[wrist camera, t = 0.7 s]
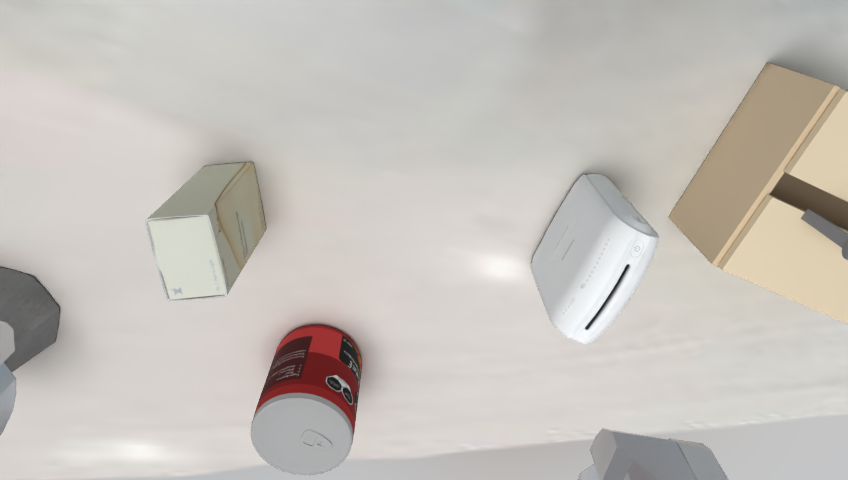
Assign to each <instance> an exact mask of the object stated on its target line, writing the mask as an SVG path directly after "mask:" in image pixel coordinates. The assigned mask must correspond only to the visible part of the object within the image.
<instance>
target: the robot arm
mask: <svg viewBox="0 0 848 480" xmlns="http://www.w3.org/2000/svg"><path fill="white" fill-rule="evenodd" d="M14 351H15V343H14V330H13V328H12V327H11V326H9V325H8V324H7V323H6V322H2V321H0V435H1V434H2V432H3V431H4V428H5V426H6V424H7V422H8V420H9V418H10V416H11V413H12V411H13V407H14V402H15V397H16V378H15V376H14V375H13V374H12V372H11V371H10V370H9V369H8V367H7V366H6V365H5V363H4V361H5V360H6V359H7V358H8V357H9V356H10V355H11V354H12V353H13V352H14ZM590 451H591V454H592V457H593V461H594V464H593V465H592V466H591V467H589V468H588V469H586V470H585V471H583V472H581V473H580V475H579V478H578V480H728V478H727V476H726V475H725V473H724V471H723V469H722V468H721V466H720V464H719V463H718V461H717V459H716V458H715V456H714V454H713V452H712V451H711V450H710V449H709V448H708V447H707V446H705V445H704V444H702V443H696V442H689V441H682V440H676V439H662V438H656V437H650V436H644V435H638V434H633V433H627V432H621V431H615V430H609V429H602V430H601V431H600V432H599V433H598V434H597V435H596V437H595V439H594V442H593V444H592V446H591V449H590Z"/></svg>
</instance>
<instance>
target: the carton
mask: <svg viewBox="0 0 848 480" xmlns="http://www.w3.org/2000/svg"><path fill="white" fill-rule="evenodd" d="M767 194H769V195H771V196H774V197H776V198H778V199H780V200H782V201H784V202H787V203H789V204H791V205H793V206H795V207H797V208H800V209H802V210H804V211H806V210H807V209H810V210H812V211H814V212H816V213H818V214H820V215H821V216H823V217H824V218H826V219H827V220H829V221H830V222H832V223H833V224H835V225H836V226H839V227H841V228H843V229H845V230H847V231H848V91H846V90H844V89H842V88H840V87H838V86H836V85H833V84H830V83H827V82H825V81H822V80H819V79H816V78H813V77H810V76H807V75H804V74H801V73H798V72H795V71H792V70H789V69H786V68H783V67H780V66H777V65H774V64H771V63H768V62H767V64H766V65H765V67H764V68H763V70H762V71H761V73H760V74H759V76H758V78H757V79H756V81H755V82H754V84H753V85H752V87H751V89H750V90H749V92H748V93H747V95H746V96H745V98H744V100H743V101H742V103H741V104H740V106H739V107H738V109H737V110H736V112H735V114H734V115H733V117H732V118H731V120H730V121H729V123H728V125H727V126H726V128H725V129H724V131H723V132H722V134H721V136H720V137H719V139H718V140H717V142H716V143H715V145H714V146H713V148H712V150H711V151H710V153H709V154H708V156H707V157H706V159H705V161H704V162H703V164H702V165H701V167H700V168H699V170H698V172H697V173H696V175H695V176H694V178H693V179H692V181H691V183H690V184H689V186H688V187H687V189H686V190H685V192H684V193H683V195H682V197H681V198H680V200H679V201H678V203H677V204H676V206H675V208H674V209H673V211H672V212H671V214H670V215H669V218H670V220H671V221H672V222H673V223H674V224H675V225H676V226H677V227H678V228H679V229H680V230H681V231H682V232H683V234H684V235H685V236H686V237H687V238H688V239H689V240H690V241H691V242H692V243H693V244H694V245H695V247H696V248H697V249H698V250H699V251H700V252H701V253H702V254H703V255H704V256H705V257H706V258H707V259H708V261H709V262H710V263H711V264H713V265H715V266H717V267H719V266H718V265H719V263H720V262H721V260H722V259H723V257H724V256H725V255H726V253H727V252H728V250H729V249H730V247H731V246H732V244H733V243H734V242H735V240H736V239H737V237H738V236H739V234H740V233H741V231H742V230H743V229H744V227H745V226H746V224H747V223H748V221H749V220H750V218H751V217H752V216H753V214H754V213H755V211H756V210H757V208H758V207H759V205H760V204H761V203H762V201H763V200H764V198H765V197H766V195H767Z"/></svg>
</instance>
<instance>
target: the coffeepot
mask: <svg viewBox="0 0 848 480" xmlns="http://www.w3.org/2000/svg"><path fill="white" fill-rule="evenodd" d="M59 310H60V309H59V307H58V306H57V304H56V302H55V301H54V299H53V298H52V296H51V295H50V293H49V292H48V291H47V290H46V289H45V288H44V287H43V286H42V285H41V284H40V283H39V282H37V281H36V280H35V279H34V278H33V277H32V276H29V275H27V274H24V273H22V272H19V271H16V270H13V269H8V268H0V321H2V322H6V323H7V324H8V325H9V326H11V327H12V328H13V330H14V343H15V351H14V352H13V353H12V354H11V355H10V356H9V357H8V358H7V359H6V360H5V361H4V363H5V365H6V366H7V367H8V369H9V370H10V371H11V372H13V371H14V370H16V369H17V368H18V367H20V366H21V365H23V364H24V363H26V362H27V361H28V360H30V359H31V358H33V357H34V356H36V355H37V354H38V353H40V352H41V351H43V350H44V349H45V348H47V347H48V346H50V345H51V344H53V343H54V342H55V340H56V334H57V329H58V326H59Z"/></svg>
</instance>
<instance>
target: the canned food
mask: <svg viewBox="0 0 848 480" xmlns="http://www.w3.org/2000/svg"><path fill="white" fill-rule="evenodd" d="M361 370H362V362H361V357H360V354H359V352H358V349H357V347H356V345H355V344H354V342H353V341H352V340H351V339H350V338H349V337H348V336H347V335H345V334H344V333H343V332H341V331H339V330H337V329H335V328H332V327H329V326H324V325H309V326H304V327H301V328H298V329H296V330H294V331H293V332H291V333H290V334H289V335H287V336H286V337H285V338H284V339H283V340H282V341H281V343H280V344H279V346H278V348H277V351H276V353H275V356H274V359H273V362H272V365H271V368H270V371H269V373H268V376H267V379H266V382H265V385H264V388H263V391H262V393H261V396H260V399H259V402H258V405H257V408H256V411H255V414H254V418H253V421H252V426H251V439H252V443H253V445H254V447H255V449H256V451H257V452H258V454H259V455H260V456H261V457H262V458H263V459H264V460H265V461H266V462H267V463H269V464H270V465H272V466H274V467H275V468H277V469H280V470H282V471H284V472H288V473H292V474H298V475H315V474H321V473H324V472H327V471H329V470H332V469H333V468H335V467H337V466H338V465H339V464H340V463H342V462H343V461H344V460H345V458H346V457H347V456H348V454H349V451H350V449H351V445H352V442H353V435H354V429H355V420H356V412H357V403H358V395H359V386H360V378H361Z"/></svg>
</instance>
